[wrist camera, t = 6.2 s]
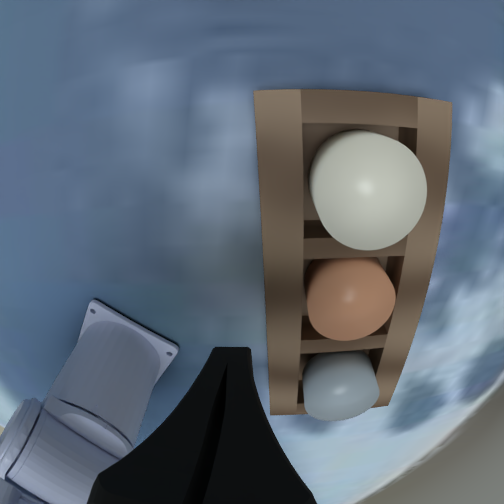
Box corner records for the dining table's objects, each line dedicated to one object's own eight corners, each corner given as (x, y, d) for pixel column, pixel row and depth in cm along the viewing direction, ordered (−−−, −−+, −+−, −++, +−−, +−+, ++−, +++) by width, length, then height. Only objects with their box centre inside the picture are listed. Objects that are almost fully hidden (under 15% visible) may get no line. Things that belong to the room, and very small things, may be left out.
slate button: (364, 389, 23) (370, 416, 20) (300, 394, 23) (302, 423, 20) (377, 344, 20) (387, 373, 18) (303, 349, 21) (306, 380, 18)
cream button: (399, 225, 16) (418, 248, 14) (307, 227, 17) (314, 252, 14) (406, 131, 14) (431, 140, 11) (306, 128, 14) (314, 134, 12)
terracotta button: (376, 310, 21) (386, 337, 18) (302, 314, 21) (306, 343, 19) (386, 243, 18) (402, 265, 16) (304, 245, 19) (310, 269, 16)
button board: (380, 379, 25) (388, 405, 23) (270, 387, 26) (270, 415, 23) (426, 99, 15) (452, 102, 12) (255, 92, 16) (253, 90, 13)
